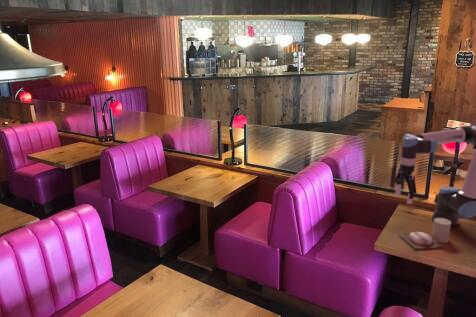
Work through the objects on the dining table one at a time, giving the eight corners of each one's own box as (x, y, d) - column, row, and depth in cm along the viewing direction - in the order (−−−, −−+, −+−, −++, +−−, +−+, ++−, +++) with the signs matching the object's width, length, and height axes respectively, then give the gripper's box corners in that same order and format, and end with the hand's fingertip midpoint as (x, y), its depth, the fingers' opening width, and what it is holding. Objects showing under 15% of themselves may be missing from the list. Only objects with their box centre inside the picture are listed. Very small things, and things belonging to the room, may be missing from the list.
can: (450, 243, 228) (453, 224, 225) (433, 242, 230) (436, 223, 227) (445, 236, 237) (448, 217, 234) (429, 234, 239) (432, 216, 235)
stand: (425, 234, 239) (426, 229, 238) (442, 248, 223) (443, 242, 222) (399, 235, 237) (399, 230, 236) (414, 250, 221) (415, 244, 220)
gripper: (390, 158, 236) (387, 191, 242) (413, 171, 212) (408, 208, 218) (402, 157, 236) (399, 190, 242) (426, 170, 213) (421, 207, 219)
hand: (403, 199), depth 230 cm, fingers open, 13 cm apart
